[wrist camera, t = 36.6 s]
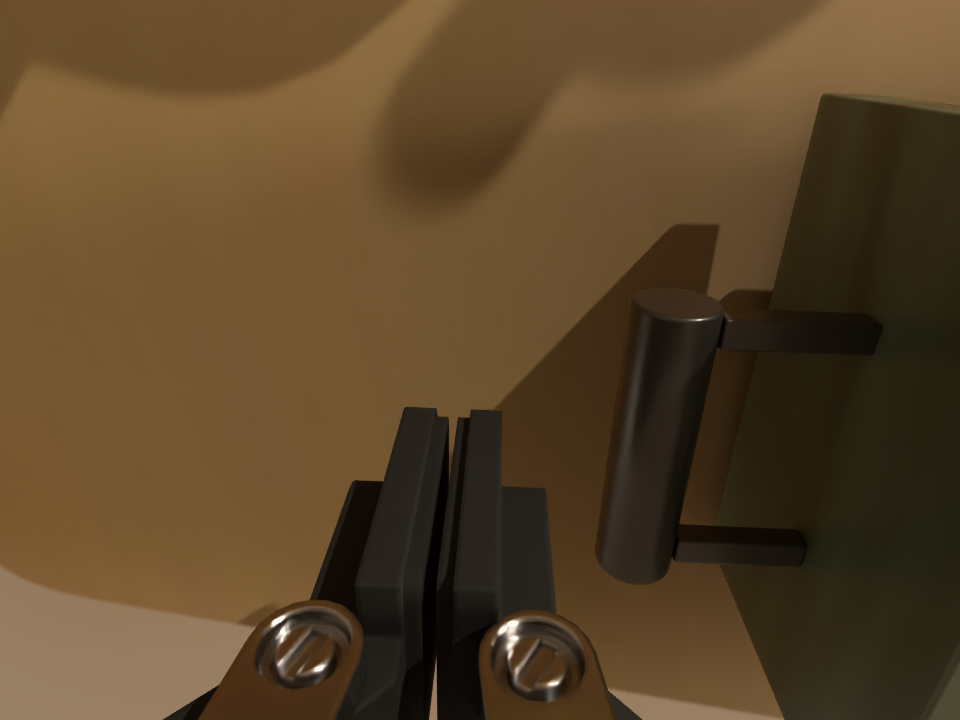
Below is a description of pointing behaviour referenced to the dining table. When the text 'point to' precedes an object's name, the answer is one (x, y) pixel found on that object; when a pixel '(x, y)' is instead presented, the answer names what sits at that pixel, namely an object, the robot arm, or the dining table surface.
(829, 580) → the drawer
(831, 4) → the dining table surface
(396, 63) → the dining table surface
